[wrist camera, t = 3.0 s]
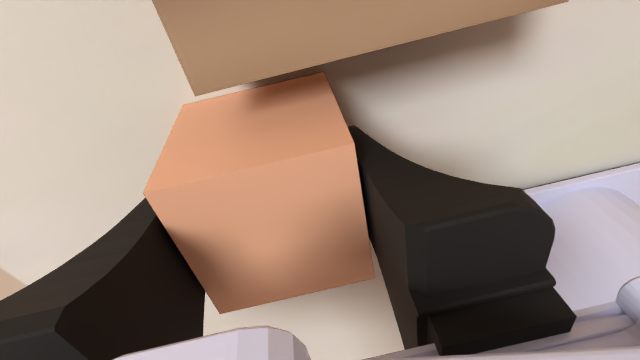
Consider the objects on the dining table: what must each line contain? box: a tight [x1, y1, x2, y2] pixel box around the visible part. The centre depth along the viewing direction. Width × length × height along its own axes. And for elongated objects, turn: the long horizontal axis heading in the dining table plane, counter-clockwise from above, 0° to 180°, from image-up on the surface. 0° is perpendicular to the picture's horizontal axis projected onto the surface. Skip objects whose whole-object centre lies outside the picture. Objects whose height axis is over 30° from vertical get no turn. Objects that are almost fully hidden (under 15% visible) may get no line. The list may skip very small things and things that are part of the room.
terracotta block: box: [143, 72, 375, 314], centre depth 12 cm, size 5×5×5 cm
